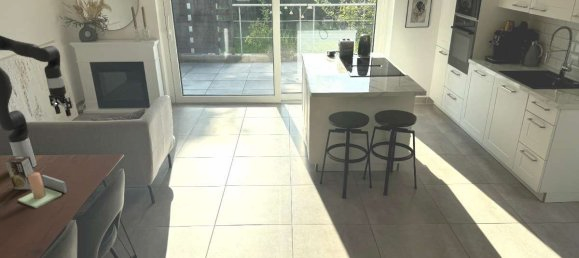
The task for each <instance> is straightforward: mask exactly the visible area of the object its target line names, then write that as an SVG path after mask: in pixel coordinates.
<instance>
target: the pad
mask: <svg viewBox="0 0 579 258" xmlns="http://www.w3.org/2000/svg"><path fill="white" fill-rule="evenodd" d="M44 189H45V192H46V196H45V197H43V198H40V199H35V198H34V196H33V193H32V192H31V193H28V194H27V195H25V196H22V197H20V198H18V199H17V200H18V202H20V203H22V204H25V205H26V206H30V207H33V208H34V209H39V208H40V207H42V206H43V205H45V204H47V203H50V202H51V201H53V200H55V199H57V198H59V197H60V196H62V192H60V191H59V192H58V191H57V190H55V189H52V188H49V187H46V186H44Z"/></svg>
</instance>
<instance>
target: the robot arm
mask: <svg viewBox="0 0 579 258" xmlns="http://www.w3.org/2000/svg"><path fill="white" fill-rule="evenodd" d="M0 51H10V52H12V53H15V55H18V56H21V57H24V58H31V59H34V60H37V61H39V62H42V63H47V65H46V66H45V67H44V68H43V69H44V74H45V77H46V78H45V79H46V84H47V88H48V92H49V95H48V98H49V102H50V106H52V107H53V108H54V111H55V114H56V115H60V114H61V113H62V112H61V108H60V106H61V107H62V108H64V111H65V116H66V117H70V116H72V113H71V109H72V108H73V104H72V101H71V98H70V97H69V96H67V97H66V94H67V90H66V85H65V81H64V78H63V76H62V75H63V74H62V71H61V52H60V51H59V49H58V48H57V46H54V45H49V46H48V45H47V46H44V47H40V46H39V45H38V44H34V43H30V42H24V41H19V40H15V39H12V38H9V37H6V36H2V35H0ZM12 93H13V86H12V82H11V79H10V76H9V74H8V73H7V72H6V70H4V69H3V68H2V67H1V66H0V127H1V129H2V130H3V131H6V132H10V131H11V133H10V134H9V135H8V138H7V139H8V142H9V144H10V147H11V151H12V154H13V157H14V156H23V157H30V159H31V162H32V165H33V168H34V167H36V166H37V160H36V158H35V155H34V151H33V147H32V144H31V141H30V136H29V129H28V123H27V119H26V117H25V114H23V112H21V111H20V110H16V109H15V110H12V111H10V110H9V108H10V107H9V104H10V101H11V100H10V99H11V97H12Z"/></svg>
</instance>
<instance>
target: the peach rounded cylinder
mask: <svg viewBox="0 0 579 258" xmlns="http://www.w3.org/2000/svg"><path fill="white" fill-rule="evenodd" d="M34 172H35V171H34ZM41 176H42V175H41V172H37V171H36V172H35V173H31V174H29V175H28V176H27V177H28V180H29V183H30V186H31V189H30V190H31V193H33V196H34V198H35V199H40V198H43V197H45V196H46V192H45V189H44V187H45V186H44V184H43V180H42V177H41Z"/></svg>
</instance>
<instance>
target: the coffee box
mask: <svg viewBox="0 0 579 258" xmlns="http://www.w3.org/2000/svg"><path fill="white" fill-rule="evenodd" d="M4 163H5V165H6V168H7V170H8V174H9V177H10V180H11V182H12V185H13V187H14V190H31V186H30V183H29V180H28V177H27V176H28V175H29V174H31V173H35V169H34V167H33V165H32V162H31V159H30V157H23V156H14V155H13V157H11V158H9V159H8V160H6V161H5V162H4Z"/></svg>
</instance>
